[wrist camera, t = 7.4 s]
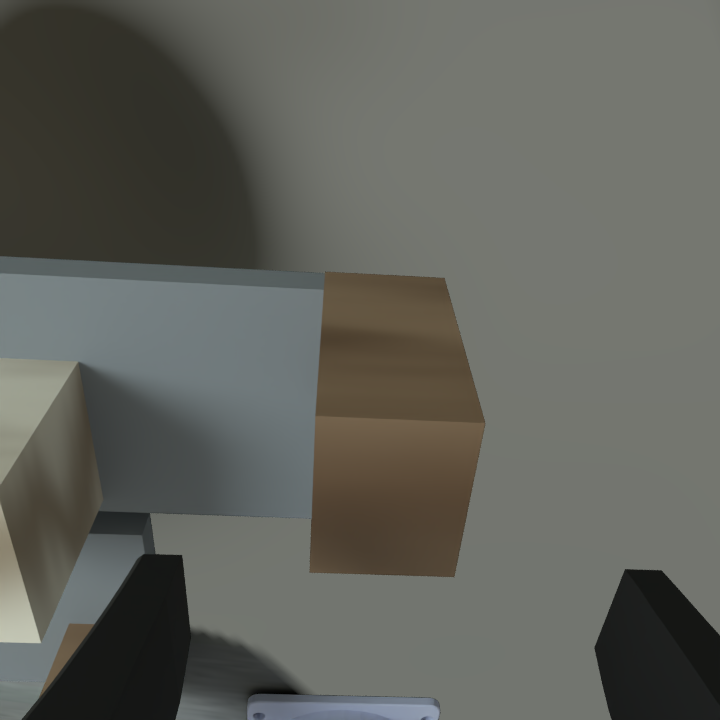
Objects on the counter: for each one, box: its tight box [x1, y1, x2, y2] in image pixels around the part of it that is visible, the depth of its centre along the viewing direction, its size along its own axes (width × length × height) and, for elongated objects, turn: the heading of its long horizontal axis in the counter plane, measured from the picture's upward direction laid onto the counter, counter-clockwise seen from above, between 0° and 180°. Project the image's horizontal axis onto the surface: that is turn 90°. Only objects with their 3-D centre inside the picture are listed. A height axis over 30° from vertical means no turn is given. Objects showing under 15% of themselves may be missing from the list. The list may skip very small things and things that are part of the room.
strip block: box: [0, 256, 485, 577], centre depth 17 cm, size 8×18×7 cm, turn 86°
